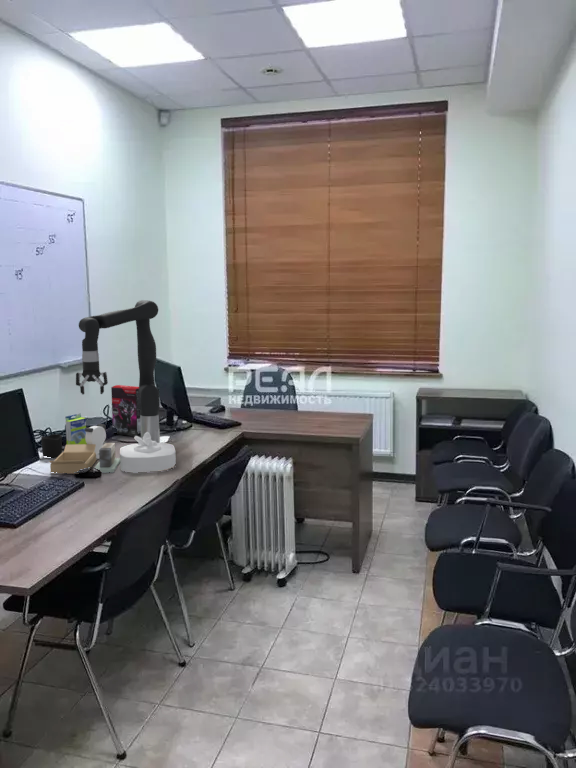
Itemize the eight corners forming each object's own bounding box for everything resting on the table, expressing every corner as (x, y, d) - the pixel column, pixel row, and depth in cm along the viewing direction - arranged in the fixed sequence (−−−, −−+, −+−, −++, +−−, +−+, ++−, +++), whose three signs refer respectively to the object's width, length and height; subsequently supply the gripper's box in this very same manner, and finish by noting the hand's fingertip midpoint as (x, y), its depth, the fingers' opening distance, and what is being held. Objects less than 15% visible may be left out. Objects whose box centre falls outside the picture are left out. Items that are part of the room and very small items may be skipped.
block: (115, 459, 297) (114, 442, 296) (110, 467, 284) (109, 450, 283) (105, 459, 297) (105, 443, 295) (99, 467, 284) (99, 450, 283)
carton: (98, 458, 303) (98, 444, 302) (84, 476, 276) (84, 460, 275) (64, 458, 302) (63, 444, 301) (47, 476, 274) (46, 460, 273)
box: (71, 451, 316) (70, 417, 314) (65, 450, 318) (64, 416, 316) (87, 446, 325) (86, 413, 323) (82, 445, 327) (80, 412, 325)
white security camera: (94, 451, 316) (93, 422, 313) (113, 454, 312) (112, 424, 309) (79, 457, 305) (77, 427, 302) (98, 460, 301) (97, 429, 298)
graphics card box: (111, 434, 352) (110, 386, 348) (119, 431, 358) (117, 384, 354) (137, 437, 346) (135, 388, 341) (144, 434, 352) (143, 386, 348)
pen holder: (60, 458, 303) (59, 438, 301) (40, 459, 301) (39, 439, 299) (64, 453, 312) (63, 433, 310) (44, 454, 310) (43, 434, 309)
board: (120, 461, 299) (120, 458, 299) (113, 472, 282) (113, 469, 282) (101, 461, 299) (101, 458, 298) (93, 472, 281) (93, 469, 281)
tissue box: (120, 474, 279) (119, 439, 277) (120, 459, 303) (119, 426, 301) (177, 471, 286) (176, 436, 283) (172, 456, 310) (172, 424, 307)
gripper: (107, 359, 301) (109, 392, 304) (76, 359, 300) (78, 392, 302) (104, 361, 294) (106, 395, 296) (73, 361, 292) (75, 395, 295)
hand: (92, 394), depth 299 cm, fingers open, 8 cm apart
